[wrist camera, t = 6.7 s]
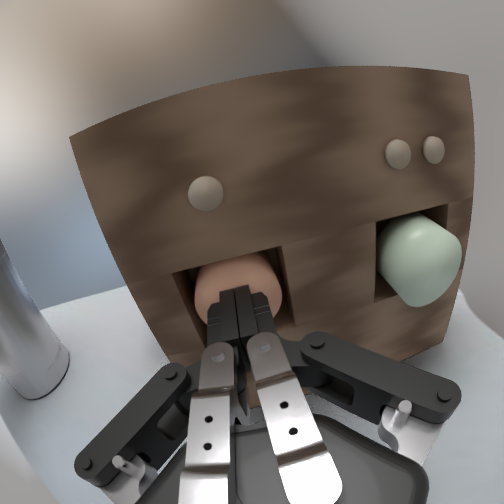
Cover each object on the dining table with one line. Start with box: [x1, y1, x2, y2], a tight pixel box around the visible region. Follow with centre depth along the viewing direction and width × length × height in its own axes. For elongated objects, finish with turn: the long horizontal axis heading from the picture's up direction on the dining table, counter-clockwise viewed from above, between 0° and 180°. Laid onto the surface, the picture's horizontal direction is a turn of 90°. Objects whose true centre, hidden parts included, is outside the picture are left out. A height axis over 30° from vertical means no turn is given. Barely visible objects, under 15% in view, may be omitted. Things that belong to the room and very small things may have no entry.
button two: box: [375, 212, 462, 307], centre depth 14 cm, size 4×3×4 cm
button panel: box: [69, 66, 475, 408], centre depth 16 cm, size 20×4×20 cm, turn 97°
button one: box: [195, 250, 282, 324], centre depth 15 cm, size 4×3×4 cm
